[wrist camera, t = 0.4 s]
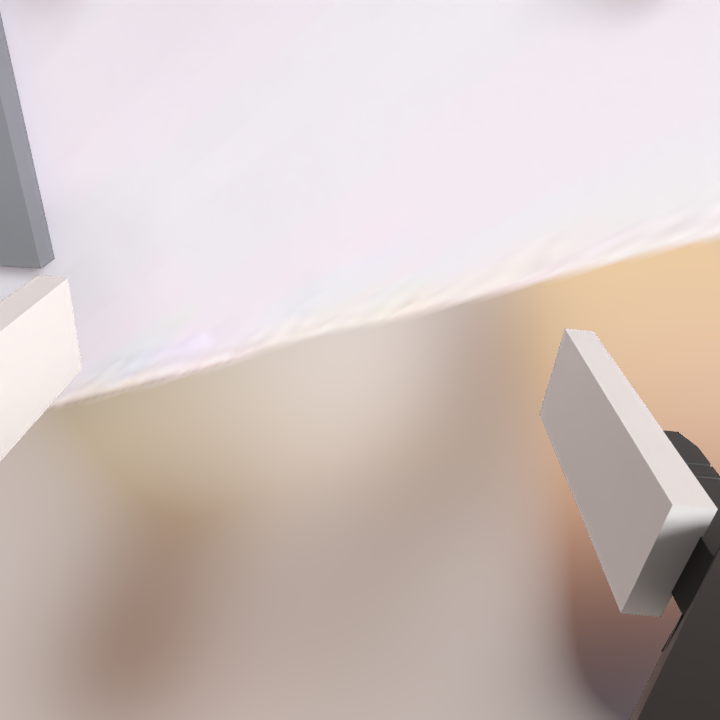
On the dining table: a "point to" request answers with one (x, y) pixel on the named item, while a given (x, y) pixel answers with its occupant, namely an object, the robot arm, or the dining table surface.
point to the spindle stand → (18, 181)
